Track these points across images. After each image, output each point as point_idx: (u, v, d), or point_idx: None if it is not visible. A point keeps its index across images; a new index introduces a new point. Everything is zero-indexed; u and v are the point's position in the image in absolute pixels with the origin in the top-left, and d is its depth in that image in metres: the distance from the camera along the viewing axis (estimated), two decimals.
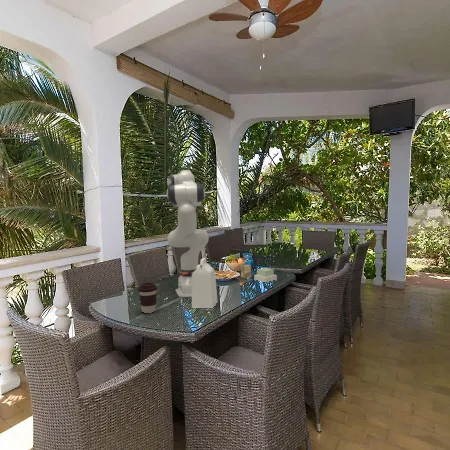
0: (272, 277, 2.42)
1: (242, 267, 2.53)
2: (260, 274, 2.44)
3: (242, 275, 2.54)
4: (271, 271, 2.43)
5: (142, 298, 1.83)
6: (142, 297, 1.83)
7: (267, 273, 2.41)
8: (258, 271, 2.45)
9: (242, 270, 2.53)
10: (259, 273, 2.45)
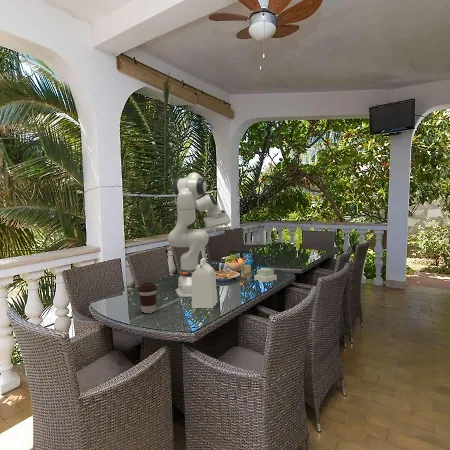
0: (272, 277, 2.42)
1: (242, 267, 2.53)
2: (260, 274, 2.44)
3: (242, 275, 2.54)
4: (271, 271, 2.43)
5: (142, 298, 1.83)
6: (142, 297, 1.83)
7: (267, 273, 2.41)
8: (258, 271, 2.45)
9: (242, 270, 2.53)
10: (259, 273, 2.45)
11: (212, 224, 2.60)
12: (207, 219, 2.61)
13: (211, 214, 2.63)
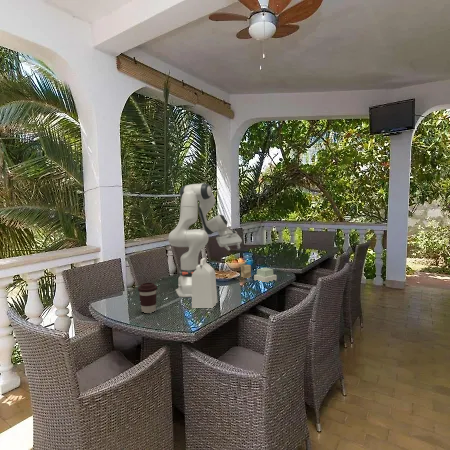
0: (272, 277, 2.42)
1: (242, 267, 2.53)
2: (260, 274, 2.44)
3: (242, 275, 2.54)
4: (271, 271, 2.44)
5: (142, 298, 1.83)
6: (142, 297, 1.83)
7: (266, 273, 2.41)
8: (258, 271, 2.46)
9: (242, 270, 2.53)
10: (258, 273, 2.45)
11: (225, 242, 2.61)
12: (220, 238, 2.62)
13: (223, 234, 2.66)
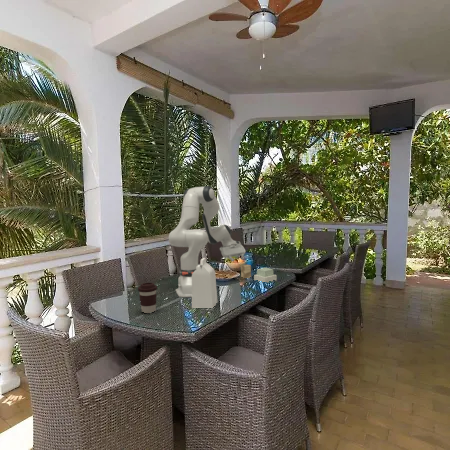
0: (272, 277, 2.42)
1: (242, 267, 2.53)
2: (260, 274, 2.44)
3: (242, 275, 2.54)
4: (271, 271, 2.44)
5: (142, 298, 1.83)
6: (142, 297, 1.83)
7: (266, 273, 2.41)
8: (258, 271, 2.45)
9: (242, 270, 2.53)
10: (258, 273, 2.45)
11: (229, 253, 2.58)
12: (224, 248, 2.59)
13: (227, 244, 2.63)
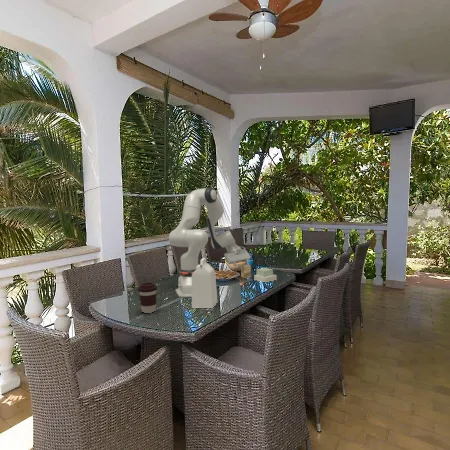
0: (272, 277, 2.42)
1: (242, 267, 2.53)
2: (259, 274, 2.44)
3: (242, 275, 2.54)
4: (270, 271, 2.43)
5: (142, 298, 1.83)
6: (142, 297, 1.83)
7: (266, 273, 2.41)
8: (257, 271, 2.46)
9: (242, 270, 2.53)
10: (258, 273, 2.45)
11: (234, 259, 2.55)
12: (228, 254, 2.56)
13: (231, 250, 2.60)
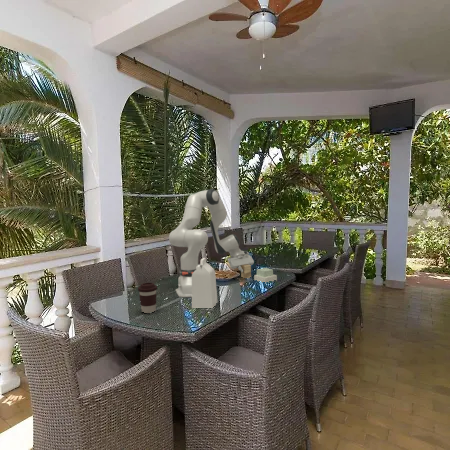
0: (272, 277, 2.42)
1: (242, 267, 2.53)
2: (259, 274, 2.44)
3: (242, 275, 2.54)
4: (270, 271, 2.43)
5: (142, 298, 1.83)
6: (142, 297, 1.83)
7: (266, 274, 2.41)
8: (257, 271, 2.45)
9: None
10: (258, 273, 2.45)
11: (237, 264, 2.52)
12: (232, 259, 2.53)
13: (235, 255, 2.57)
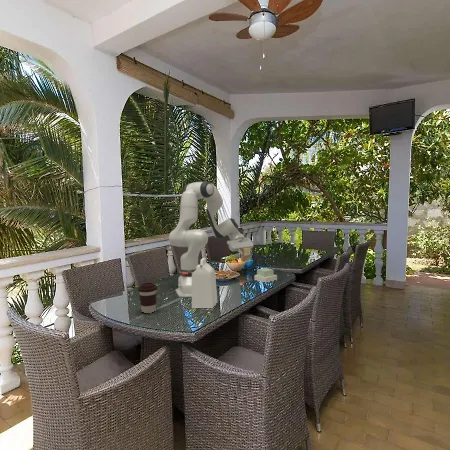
0: (272, 277, 2.42)
1: (242, 250, 2.52)
2: (260, 274, 2.44)
3: (241, 258, 2.52)
4: (271, 271, 2.43)
5: (142, 298, 1.83)
6: (142, 297, 1.83)
7: (266, 274, 2.40)
8: (258, 271, 2.45)
9: None
10: (258, 273, 2.45)
11: (237, 246, 2.51)
12: (231, 242, 2.52)
13: (234, 237, 2.56)
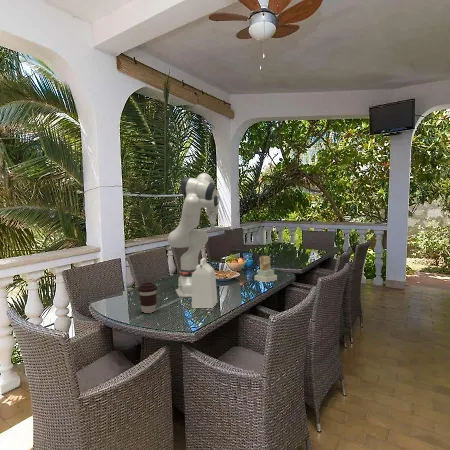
0: (272, 277, 2.42)
1: (261, 258, 2.43)
2: (260, 275, 2.42)
3: (261, 267, 2.44)
4: (271, 271, 2.42)
5: (142, 298, 1.83)
6: (142, 297, 1.83)
7: (267, 274, 2.40)
8: (258, 272, 2.44)
9: (261, 261, 2.44)
10: (259, 273, 2.43)
11: None
12: (215, 216, 2.54)
13: (215, 211, 2.58)
